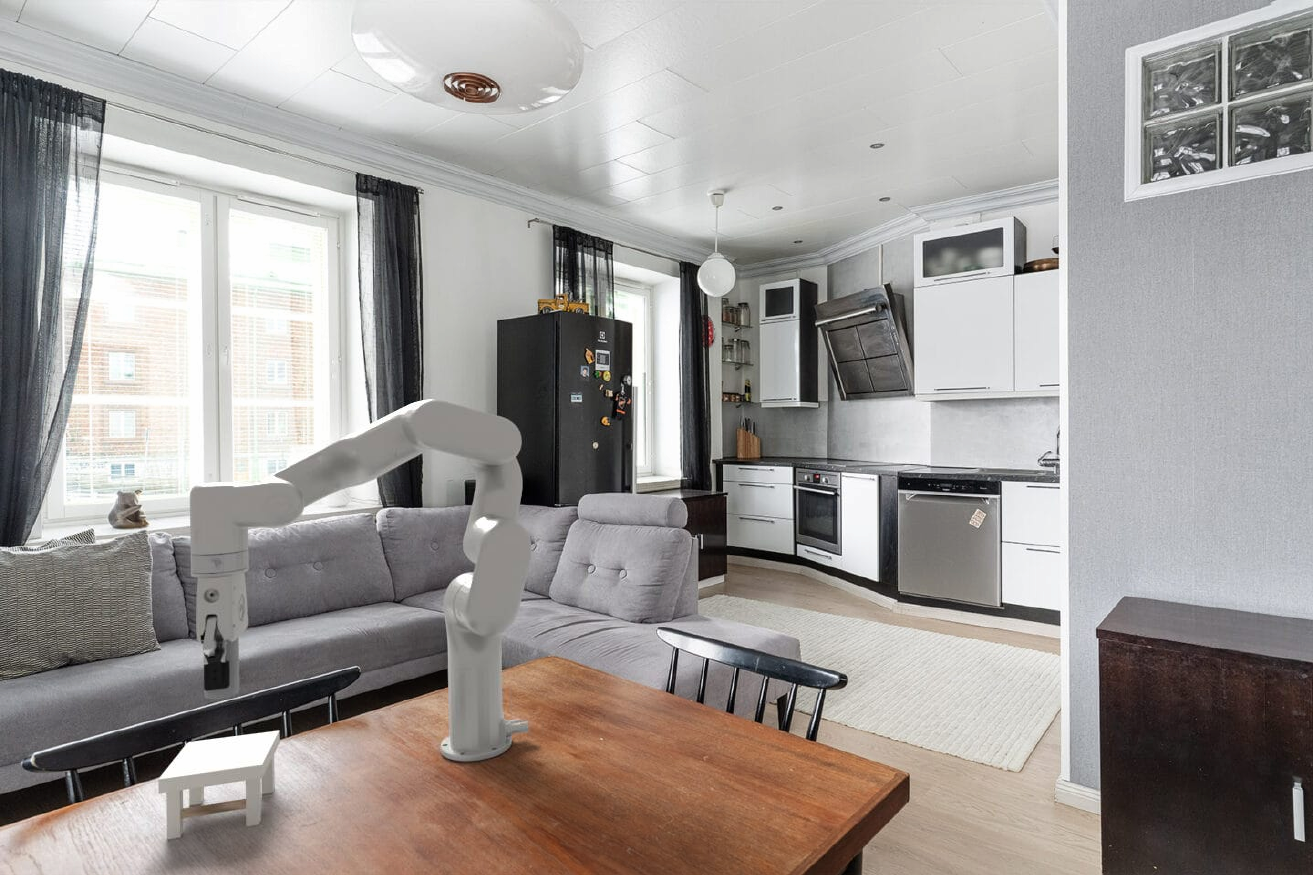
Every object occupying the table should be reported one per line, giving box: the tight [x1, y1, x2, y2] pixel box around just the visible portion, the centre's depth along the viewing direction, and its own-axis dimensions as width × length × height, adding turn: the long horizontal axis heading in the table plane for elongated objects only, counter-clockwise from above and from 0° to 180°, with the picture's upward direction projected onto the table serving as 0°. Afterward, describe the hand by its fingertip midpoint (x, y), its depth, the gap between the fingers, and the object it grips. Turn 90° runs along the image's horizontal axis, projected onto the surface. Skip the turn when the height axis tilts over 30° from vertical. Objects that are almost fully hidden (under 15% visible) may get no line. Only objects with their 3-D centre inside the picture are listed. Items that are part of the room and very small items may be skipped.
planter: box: [203, 631, 240, 700], centre depth 108 cm, size 4×4×10 cm
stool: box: [157, 730, 281, 841], centre depth 108 cm, size 13×13×9 cm
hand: (222, 681), depth 108 cm, fingers closed on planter, 4 cm apart
